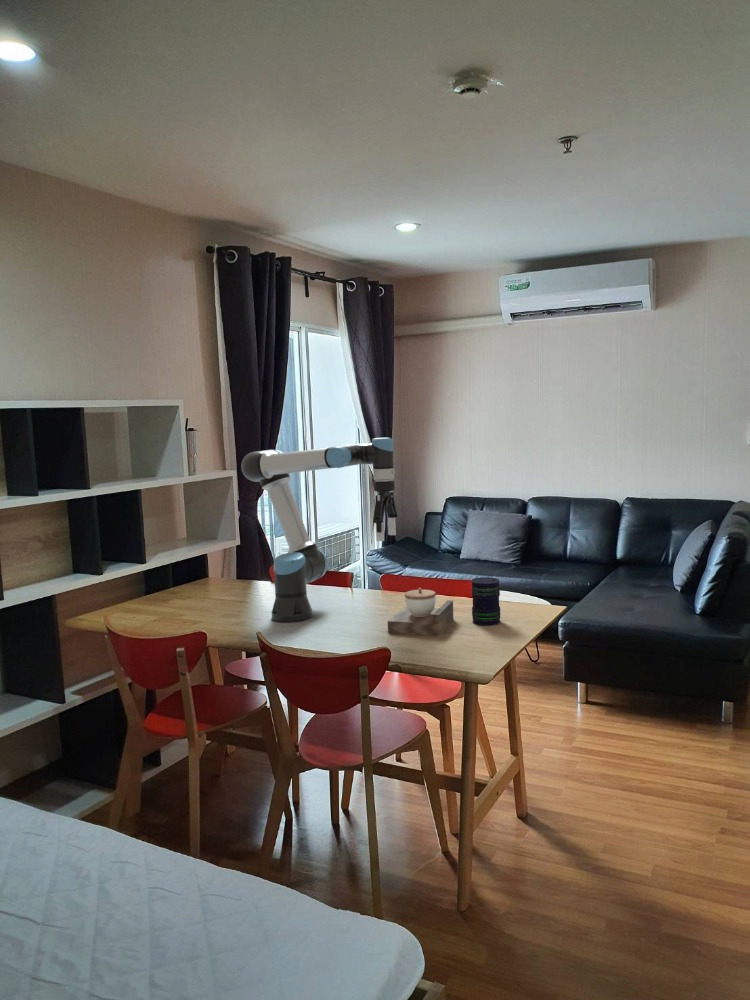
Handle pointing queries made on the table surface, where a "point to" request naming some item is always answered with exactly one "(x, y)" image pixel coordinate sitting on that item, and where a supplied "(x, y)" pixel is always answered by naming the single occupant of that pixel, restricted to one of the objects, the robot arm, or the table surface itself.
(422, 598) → the lidded jar
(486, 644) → the table surface
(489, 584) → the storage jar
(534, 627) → the table surface
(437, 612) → the riser block
